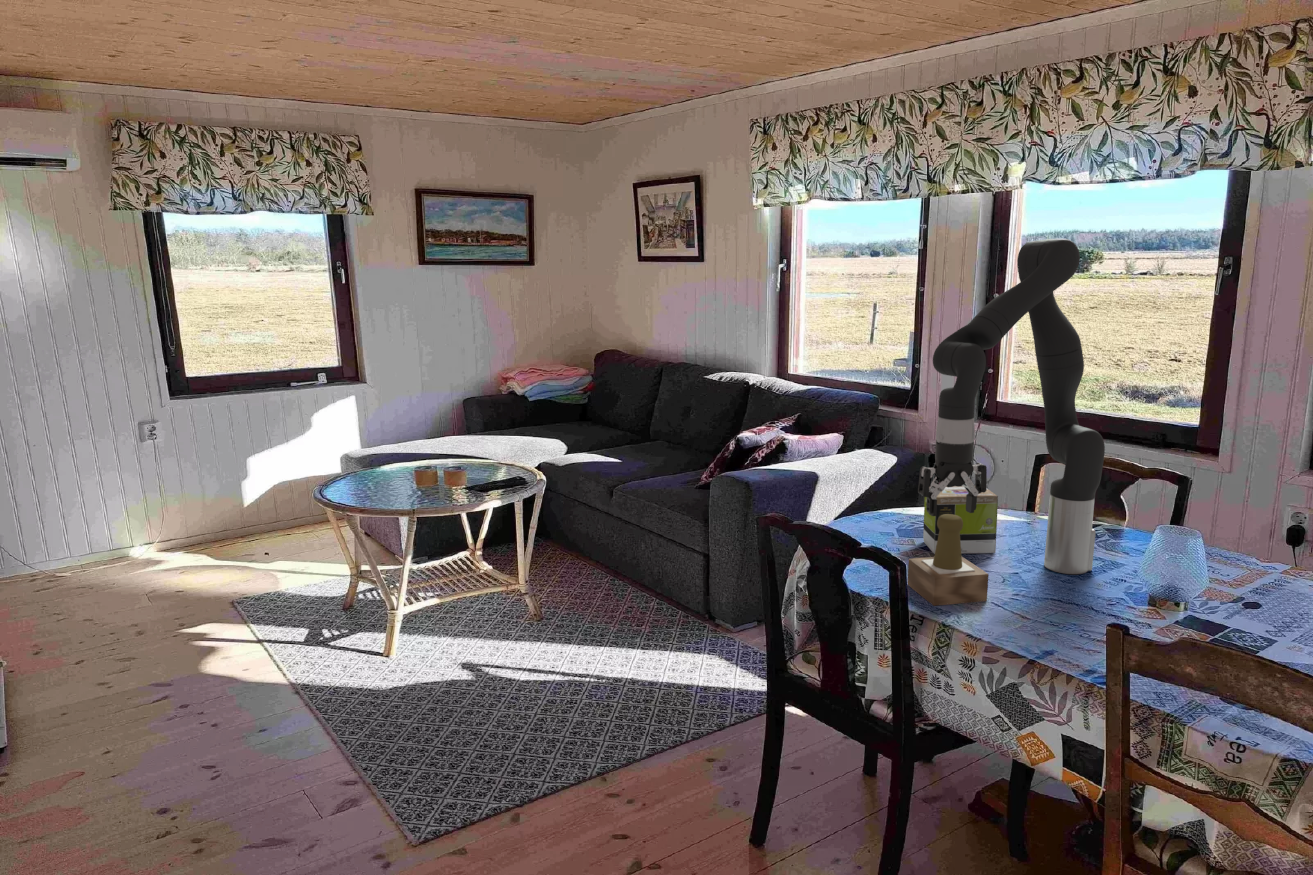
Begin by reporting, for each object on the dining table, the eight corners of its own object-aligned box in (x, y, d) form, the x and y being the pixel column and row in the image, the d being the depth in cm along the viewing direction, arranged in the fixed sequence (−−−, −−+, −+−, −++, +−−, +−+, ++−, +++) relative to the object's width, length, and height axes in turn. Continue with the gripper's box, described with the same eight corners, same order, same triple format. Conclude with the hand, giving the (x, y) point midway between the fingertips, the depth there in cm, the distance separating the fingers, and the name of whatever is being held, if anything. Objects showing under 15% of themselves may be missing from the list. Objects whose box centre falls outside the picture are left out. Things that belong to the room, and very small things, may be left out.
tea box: (981, 541, 221) (985, 484, 218) (995, 554, 211) (1000, 495, 208) (921, 541, 221) (924, 485, 218) (933, 555, 212) (936, 496, 208)
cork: (964, 570, 184) (967, 520, 181) (934, 568, 185) (937, 519, 182) (960, 560, 189) (963, 512, 187) (931, 559, 191) (934, 510, 188)
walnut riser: (957, 580, 195) (959, 553, 194) (986, 601, 184) (988, 572, 182) (907, 584, 193) (908, 557, 192) (933, 605, 182) (935, 577, 180)
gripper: (977, 433, 186) (972, 506, 189) (914, 436, 184) (911, 511, 187) (996, 440, 179) (991, 516, 182) (931, 444, 176) (928, 521, 180)
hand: (951, 513), depth 185 cm, fingers open, 8 cm apart
